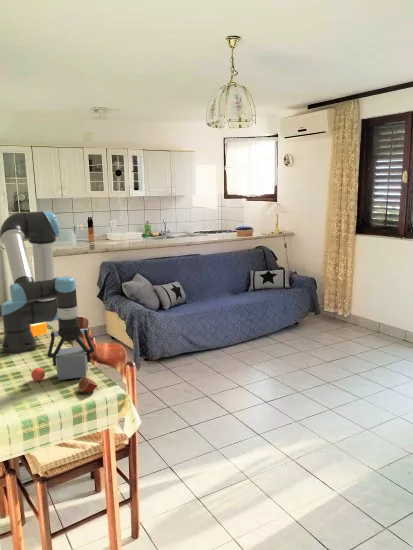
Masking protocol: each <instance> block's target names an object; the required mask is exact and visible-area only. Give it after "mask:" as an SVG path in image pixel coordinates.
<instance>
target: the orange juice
mask: <svg viewBox="0 0 413 550" xmlns="http://www.w3.org/2000/svg"><path fill="white" fill-rule="evenodd" d="M30 327H31V332H32V334H33V336H34V338H36V337H35V336H37V337H39V336H38V335H41V334H44V333H47V334H48V326H47V322H44V323H38V324H31V325H30ZM44 335H45V334H44ZM41 336H42V335H41Z"/></svg>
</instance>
